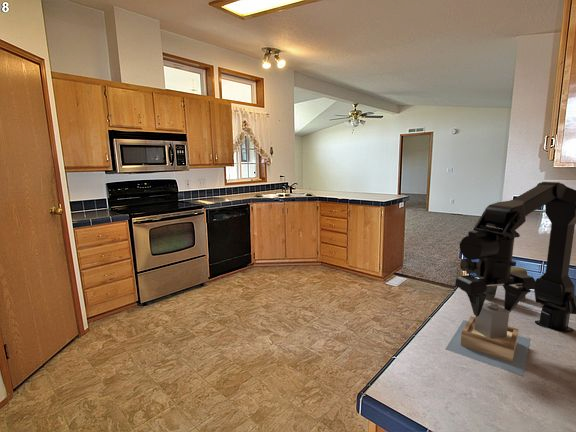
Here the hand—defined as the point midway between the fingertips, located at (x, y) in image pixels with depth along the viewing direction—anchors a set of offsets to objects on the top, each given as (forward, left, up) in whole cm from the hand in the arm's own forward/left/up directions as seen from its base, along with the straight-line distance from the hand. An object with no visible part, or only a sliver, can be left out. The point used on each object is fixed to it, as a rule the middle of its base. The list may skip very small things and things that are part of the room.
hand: (491, 314), depth 80 cm
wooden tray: (0, 0, -8) cm, 8 cm away
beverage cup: (-25, -27, -9) cm, 38 cm away
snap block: (0, 0, -5) cm, 5 cm away
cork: (-35, -25, -9) cm, 44 cm away
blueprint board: (0, 0, -9) cm, 9 cm away
